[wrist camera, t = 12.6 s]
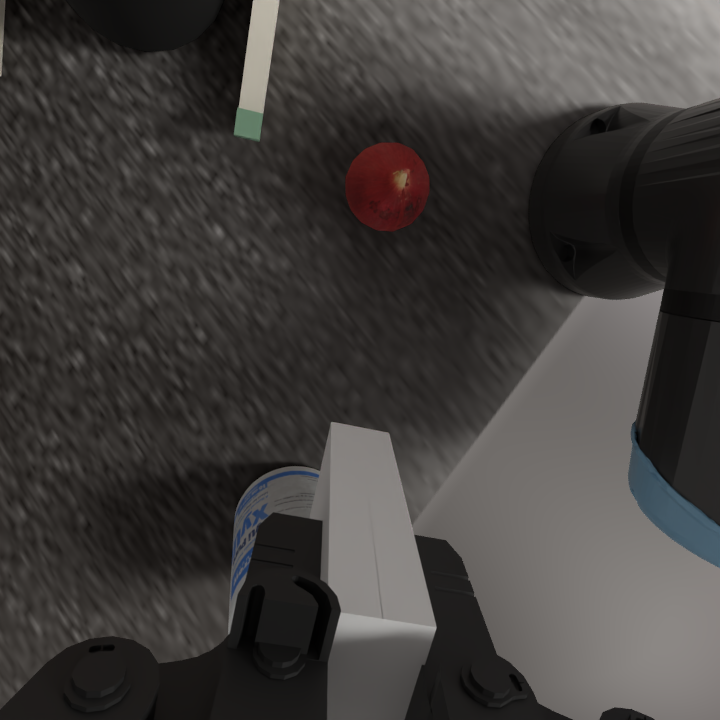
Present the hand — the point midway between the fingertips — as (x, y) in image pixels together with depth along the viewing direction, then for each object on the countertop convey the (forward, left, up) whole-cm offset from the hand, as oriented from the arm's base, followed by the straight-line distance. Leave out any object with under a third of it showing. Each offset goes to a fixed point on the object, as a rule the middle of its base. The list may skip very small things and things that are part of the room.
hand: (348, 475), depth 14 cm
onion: (-5, -11, -29) cm, 31 cm away
